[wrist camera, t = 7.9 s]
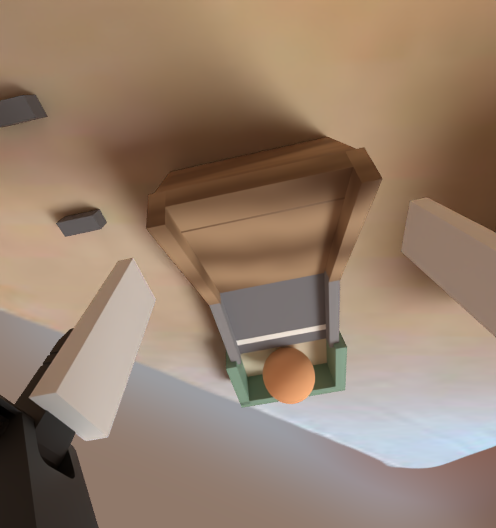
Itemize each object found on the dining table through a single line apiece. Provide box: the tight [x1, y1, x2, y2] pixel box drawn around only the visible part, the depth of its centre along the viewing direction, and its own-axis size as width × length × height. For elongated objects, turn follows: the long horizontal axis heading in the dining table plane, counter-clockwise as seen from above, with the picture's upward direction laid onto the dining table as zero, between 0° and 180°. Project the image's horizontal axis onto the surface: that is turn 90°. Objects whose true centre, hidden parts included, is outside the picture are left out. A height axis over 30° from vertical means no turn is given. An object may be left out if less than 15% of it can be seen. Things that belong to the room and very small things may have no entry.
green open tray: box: [226, 331, 347, 407], centre depth 31 cm, size 9×13×4 cm, turn 101°
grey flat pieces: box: [0, 95, 107, 237], centre depth 18 cm, size 9×3×1 cm, turn 11°
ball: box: [263, 347, 315, 404], centre depth 29 cm, size 6×6×6 cm
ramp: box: [146, 137, 382, 305], centre depth 19 cm, size 12×12×8 cm
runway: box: [209, 271, 340, 364], centre depth 26 cm, size 10×12×3 cm
